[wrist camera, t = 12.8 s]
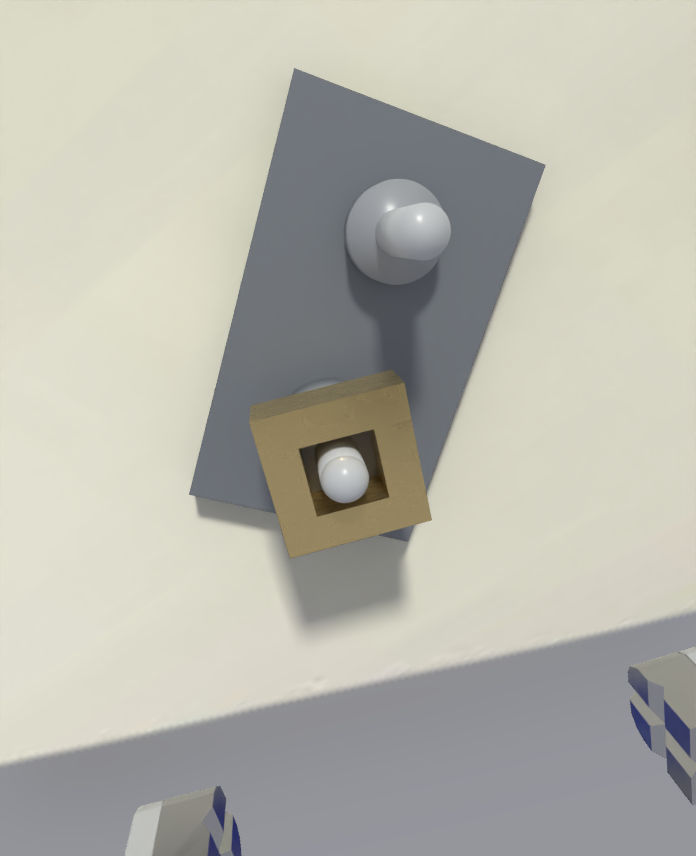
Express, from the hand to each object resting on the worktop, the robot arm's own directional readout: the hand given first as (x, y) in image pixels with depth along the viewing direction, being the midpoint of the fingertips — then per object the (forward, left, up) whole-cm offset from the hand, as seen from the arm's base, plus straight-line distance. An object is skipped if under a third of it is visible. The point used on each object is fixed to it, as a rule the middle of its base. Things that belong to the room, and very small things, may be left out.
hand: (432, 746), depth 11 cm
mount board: (0, -5, -21) cm, 21 cm away
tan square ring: (0, 0, -16) cm, 16 cm away
